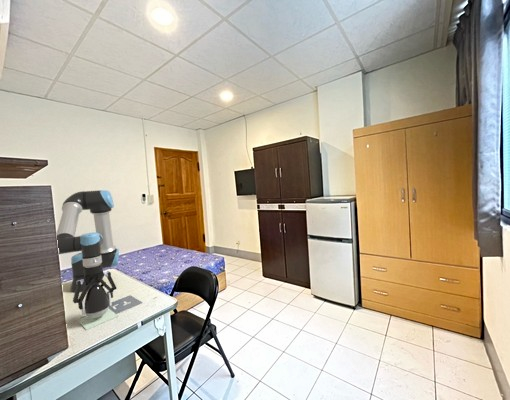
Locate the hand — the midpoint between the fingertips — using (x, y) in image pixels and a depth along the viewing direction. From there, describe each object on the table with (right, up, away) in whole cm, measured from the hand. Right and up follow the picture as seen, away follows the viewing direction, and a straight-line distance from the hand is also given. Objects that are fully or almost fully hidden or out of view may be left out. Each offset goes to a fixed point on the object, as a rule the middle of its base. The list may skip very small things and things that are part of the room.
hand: (97, 309), depth 111 cm
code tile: (+4, -4, +13) cm, 14 cm away
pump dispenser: (0, -3, 0) cm, 3 cm away
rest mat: (0, -4, 0) cm, 5 cm away
